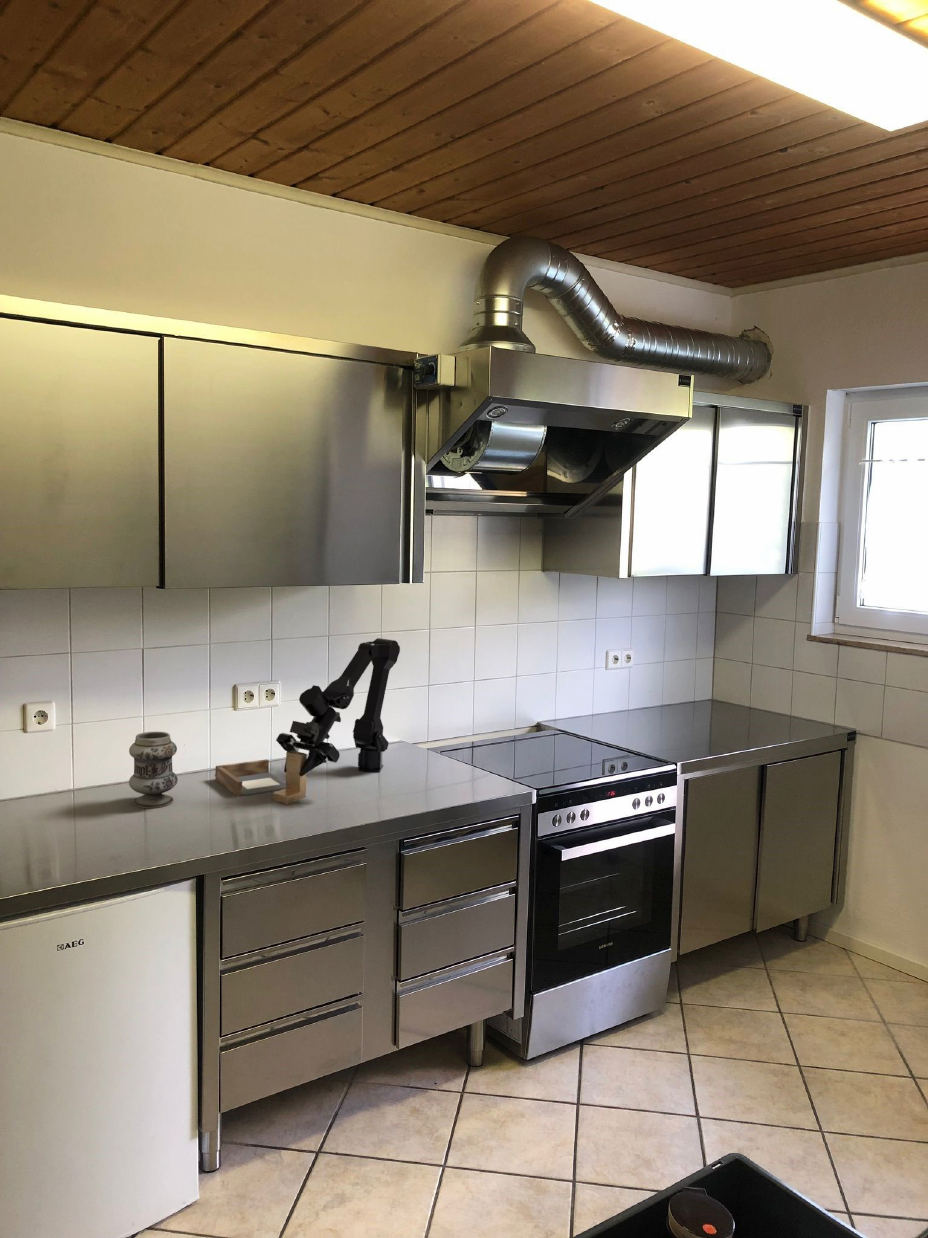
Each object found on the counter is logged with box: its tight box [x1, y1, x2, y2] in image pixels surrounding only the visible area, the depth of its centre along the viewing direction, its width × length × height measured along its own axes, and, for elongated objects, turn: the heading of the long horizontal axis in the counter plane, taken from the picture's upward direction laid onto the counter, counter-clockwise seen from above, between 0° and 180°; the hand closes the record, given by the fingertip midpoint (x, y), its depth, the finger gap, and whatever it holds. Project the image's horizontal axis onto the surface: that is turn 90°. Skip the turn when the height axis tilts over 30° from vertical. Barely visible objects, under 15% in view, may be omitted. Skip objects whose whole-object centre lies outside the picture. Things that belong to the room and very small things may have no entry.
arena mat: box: [237, 772, 286, 797], centre depth 268 cm, size 14×16×1 cm
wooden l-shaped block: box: [272, 751, 308, 805], centre depth 257 cm, size 8×5×12 cm, turn 148°
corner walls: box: [215, 759, 270, 797], centre depth 268 cm, size 15×17×4 cm
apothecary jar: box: [128, 731, 178, 809], centre depth 249 cm, size 12×12×18 cm
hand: (292, 773), depth 257 cm, fingers closed on wooden l-shaped block, 5 cm apart
